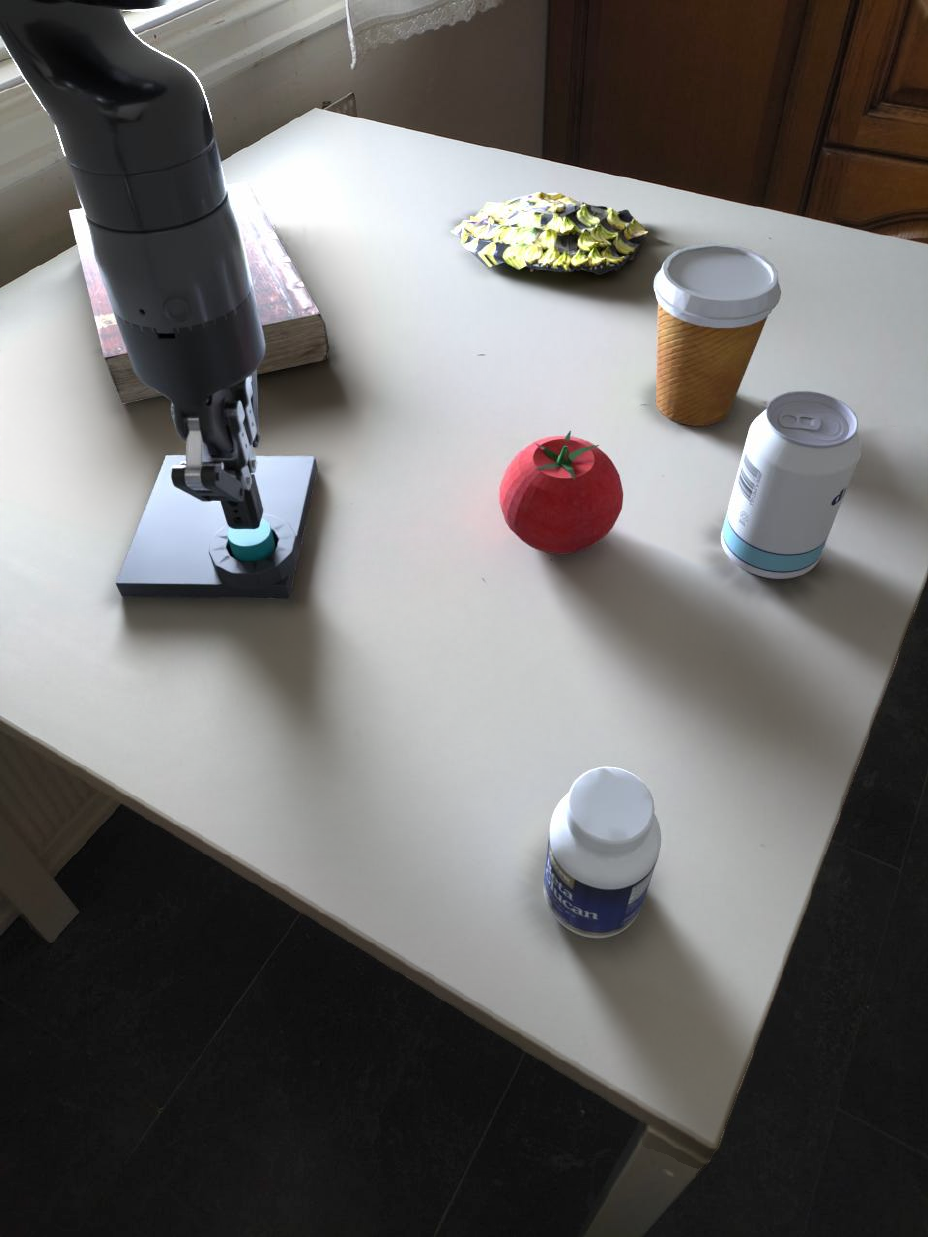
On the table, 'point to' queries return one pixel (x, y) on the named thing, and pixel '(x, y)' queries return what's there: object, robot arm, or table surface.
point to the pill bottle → (601, 853)
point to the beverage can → (790, 484)
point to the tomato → (561, 494)
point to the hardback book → (277, 289)
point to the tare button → (252, 542)
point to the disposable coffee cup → (709, 327)
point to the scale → (218, 538)
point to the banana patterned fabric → (552, 234)
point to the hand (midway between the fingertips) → (246, 521)
